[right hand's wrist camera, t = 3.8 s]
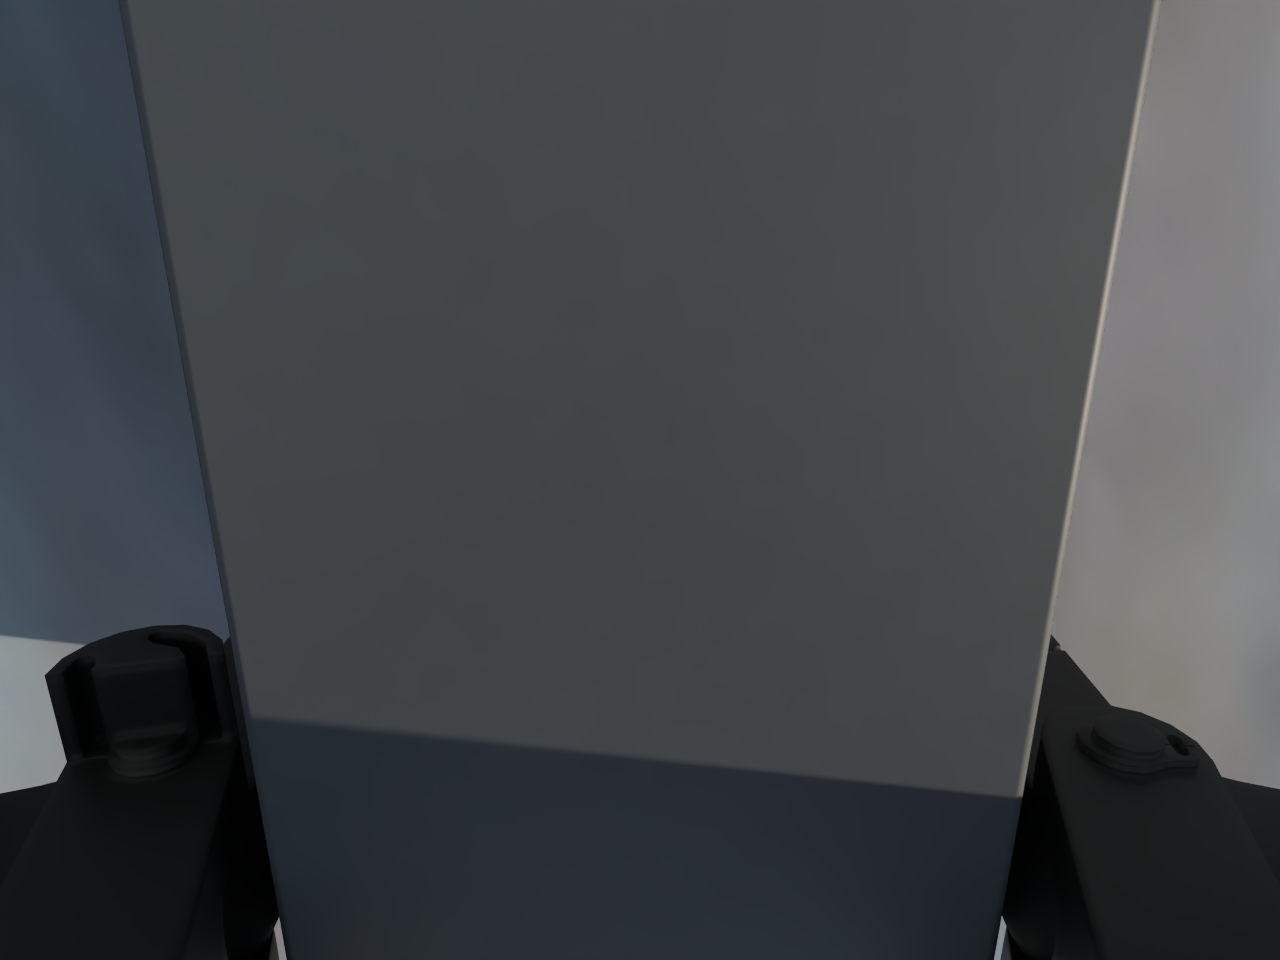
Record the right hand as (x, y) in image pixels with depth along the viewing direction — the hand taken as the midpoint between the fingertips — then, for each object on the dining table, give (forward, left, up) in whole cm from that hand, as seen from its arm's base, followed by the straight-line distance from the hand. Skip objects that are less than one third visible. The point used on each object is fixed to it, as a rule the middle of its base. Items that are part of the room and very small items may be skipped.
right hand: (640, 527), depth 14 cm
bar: (+4, +8, -1) cm, 9 cm away
